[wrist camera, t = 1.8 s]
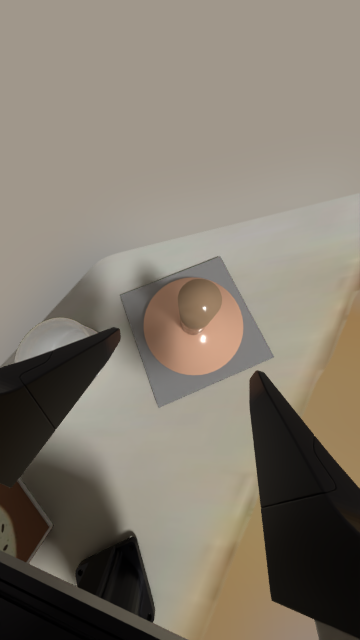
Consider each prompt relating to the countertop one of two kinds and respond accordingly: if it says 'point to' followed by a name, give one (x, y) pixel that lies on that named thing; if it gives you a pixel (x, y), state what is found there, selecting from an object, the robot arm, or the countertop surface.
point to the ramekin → (51, 337)
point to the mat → (179, 385)
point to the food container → (21, 522)
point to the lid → (193, 326)
